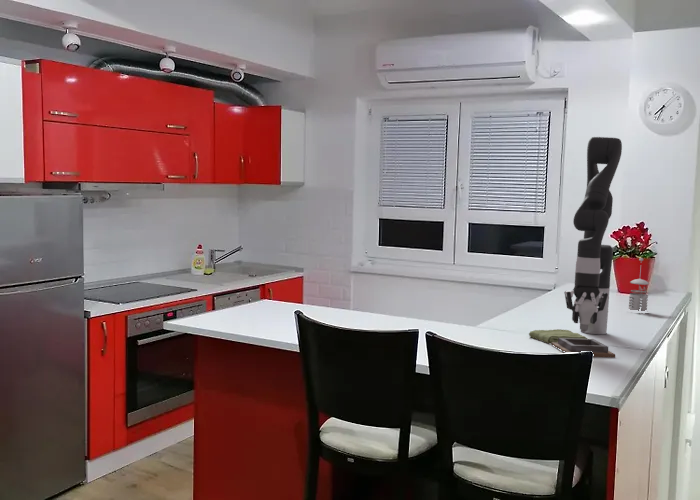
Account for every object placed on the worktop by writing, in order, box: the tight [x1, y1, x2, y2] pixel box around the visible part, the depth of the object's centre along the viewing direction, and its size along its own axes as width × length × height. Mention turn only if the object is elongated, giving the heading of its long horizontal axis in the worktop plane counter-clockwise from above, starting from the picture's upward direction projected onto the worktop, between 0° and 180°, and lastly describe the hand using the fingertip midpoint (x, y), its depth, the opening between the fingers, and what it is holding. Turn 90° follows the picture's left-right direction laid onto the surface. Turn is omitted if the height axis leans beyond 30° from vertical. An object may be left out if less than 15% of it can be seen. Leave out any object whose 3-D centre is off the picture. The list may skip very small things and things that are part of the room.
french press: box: [628, 257, 650, 311], centre depth 316 cm, size 10×12×25 cm
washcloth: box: [528, 328, 589, 344], centre depth 245 cm, size 13×18×3 cm
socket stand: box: [550, 338, 616, 358], centre depth 226 cm, size 16×15×3 cm
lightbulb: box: [578, 299, 596, 333], centre depth 225 cm, size 6×6×11 cm
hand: (584, 322), depth 226 cm, fingers closed on lightbulb, 5 cm apart
